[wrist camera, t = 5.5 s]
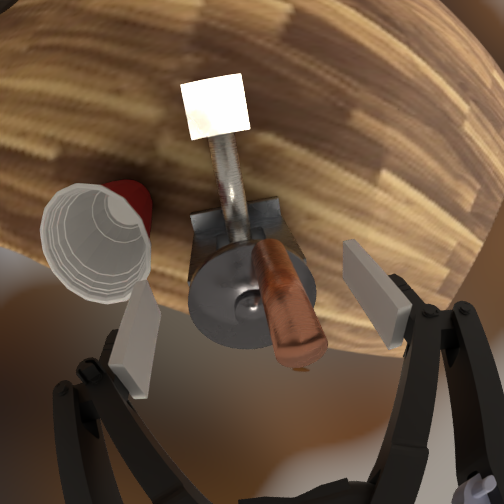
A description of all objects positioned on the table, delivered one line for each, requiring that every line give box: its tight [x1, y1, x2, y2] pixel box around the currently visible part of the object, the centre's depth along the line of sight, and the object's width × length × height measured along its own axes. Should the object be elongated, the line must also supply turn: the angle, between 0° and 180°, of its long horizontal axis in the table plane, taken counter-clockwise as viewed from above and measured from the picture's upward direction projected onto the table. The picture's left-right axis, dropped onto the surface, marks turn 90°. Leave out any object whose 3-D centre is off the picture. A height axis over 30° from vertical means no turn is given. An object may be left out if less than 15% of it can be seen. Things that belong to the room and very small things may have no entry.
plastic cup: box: [40, 179, 153, 304], centre depth 25 cm, size 11×11×12 cm
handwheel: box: [188, 238, 328, 368], centre depth 19 cm, size 10×11×11 cm
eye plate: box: [188, 196, 306, 287], centre depth 29 cm, size 7×10×11 cm
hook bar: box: [181, 74, 253, 244], centre depth 26 cm, size 20×4×11 cm, turn 9°
